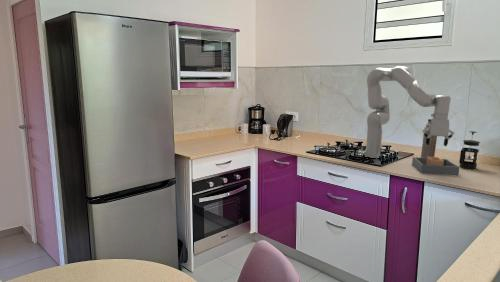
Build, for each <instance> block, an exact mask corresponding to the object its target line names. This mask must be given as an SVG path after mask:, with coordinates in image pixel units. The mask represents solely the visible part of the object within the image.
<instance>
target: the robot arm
mask: <svg viewBox="0 0 500 282" xmlns="http://www.w3.org/2000/svg"><path fill="white" fill-rule="evenodd" d="M394 81H395V82H397V84H399V85H400V86H401V87H402V88H404V90H406V92H407V93H408V95H409V97H410V98H411V99H412V100H413V101H414V102H415V103H416V104H418V105H419V106H421V107H422V108H431V107H434V110H433V113H431V114H430V116H431V117H432V118H430V119H431V122H430V126H429V128H427V129H422V133H423V135H425V136H426V144H427V145H429V142H430V138H429V137H431V136H437V137H444V139H443V146H444V147H447V145H448V144H449V140H450V139H451V138H452V137H453V136H454V135H455V132H454V131H453V130H451V129H450V119H448V118H449V111H450V106H451V105H450V104H451V96H450V95H446V94H445V95H437V94H433V93H427V92H425V90H423V89H422V88H421V87H420V86H419V81H418V79H417V78H416V77H414V75H412V74H411V70H410V68H409V67H407V66H401V65H397V66H395V67H390V68H388V67H376V68H374V69H372V70H371V71H370V72H369V73H368V75H367V77H366V86H367V87H366V88H367V102H368V103H367V104H368V107H369V108H370V109H372V110H374V111H372V112H370V113H369V114H368V116H367V117H366V118H367V119H366V123H367V128H366V129H367V131H366V143H365V149H364V150H358V152H357V153H358V154H359V155H360V154H361V155H365V157H367V156H368V157H370V158H377V157H379V156H381V148H382V138H383V125H386V124H387V123H389V121H390V115H391V114H390V101H389V98H388V97H387V96H386V95H384V94H382V87H381V84H380V82H394ZM426 131H428V133H429V134H428V135H427V134H426Z"/></svg>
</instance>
